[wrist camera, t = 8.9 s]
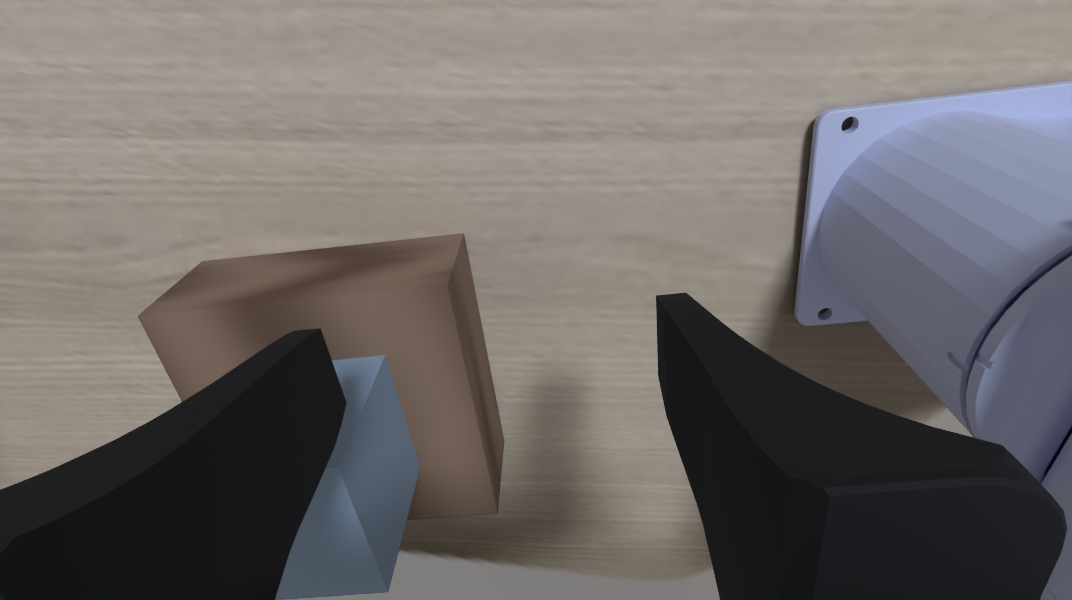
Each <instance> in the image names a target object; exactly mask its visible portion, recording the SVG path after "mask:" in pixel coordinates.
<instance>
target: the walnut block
mask: <svg viewBox="0 0 1072 600" xmlns="http://www.w3.org/2000/svg"><path fill="white" fill-rule="evenodd" d="M138 318H139V320H140V322H141V324H142V325H143V327H144V329H145V331H146V333H147V335H148V337H149V339H150V341H151V343H152V345H153V347H154V349H155V351H156V352H157V354H158V356H159V358H160V360H161V362H162V364H163V366H164V368H165V370H166V372H167V374H168V376H169V377H170V379H171V381H172V383H173V385H174V387H175V389H176V391H177V393H178V395H179V397H180V399H181V401H182V402H183V401H185V400H186V399H188V398H189V397H191V396H192V395H194V394H196V393H197V392H199V391H200V390H202V389H204V388H205V387H207V386H208V385H210V384H211V383H213V382H215V381H216V380H218V379H219V378H221V377H222V376H223V375H225V374H226V373H228V372H229V371H231V370H232V369H234V368H235V367H237V366H238V365H240V364H241V363H243V362H244V361H246V360H247V359H249V358H250V357H252V356H253V355H255V354H256V353H258V352H259V351H261V350H262V349H264V348H265V347H267V346H268V345H270V344H271V343H273V342H274V341H276V340H278V339H279V338H281V337H283V336H284V335H286V334H288V333H290V332H292V331H296V330H306V329H316V328H321V331H322V333H323V336H324V339H325V342H326V345H327V348H328V351H329V353H330V356H331V359H332V360H342V359H351V358H361V357H371V356H380V355H385V356H386V359H387V362H388V365H389V369H390V372H391V375H392V378H393V381H394V385H395V388H396V391H397V394H398V397H399V401H400V404H401V407H402V410H403V413H404V417H405V420H406V423H407V426H408V429H409V433H410V436H411V439H412V442H413V445H414V449H415V452H416V455H417V458H418V461H419V465H420V470H419V474H418V478H417V482H416V486H415V490H414V494H413V498H412V501H411V505H410V509H409V513H408V517H407V520H412V519H426V518H440V517H454V516H468V515H483V514H497V513H498V503H499V492H500V482H501V471H502V460H503V450H504V437H503V432H502V427H501V422H500V417H499V412H498V406H497V401H496V396H495V391H494V386H493V381H492V376H491V371H490V365H489V360H488V355H487V350H486V345H485V340H484V335H483V330H482V324H481V319H480V314H479V309H478V304H477V299H476V294H475V289H474V283H473V278H472V273H471V268H470V263H469V258H468V253H467V247H466V242H465V237H464V234H455V235H446V236H437V237H427V238H418V239H409V240H399V241H390V242H381V243H371V244H362V245H353V246H343V247H334V248H325V249H315V250H306V251H297V252H287V253H278V254H269V255H259V256H250V257H241V258H231V259H222V260H213V261H203V262H201V263H200V264H199V265H197V266H196V267H195V268H194V269H193V270H191V271H190V272H189V273H188V274H187V275H186V276H184V277H183V278H182V279H181V280H180V281H178V282H177V283H176V284H175V285H174V286H173V287H171V288H170V289H169V290H168V291H167V292H165V293H164V294H163V295H162V296H161V297H160V298H158V299H157V300H156V301H155V302H154V303H152V304H151V305H150V306H149V307H148V308H146V309H145V310H144V311H143V312H142V313H141V314H139V315H138Z"/></svg>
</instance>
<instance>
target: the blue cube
mask: <svg viewBox="0 0 1072 600" xmlns="http://www.w3.org/2000/svg"><path fill="white" fill-rule="evenodd" d="M332 362H333V365H334V368H335V371H336V374H337V376H338V379H339V382H340V385H341V388H342V391H343V394H344V396H345V399H346V402H347V404H346V408H345V412H344V416H343V420H342V424H341V428H340V431H339V435H338V438H337V442H336V445H335V447H334V450H333V452H332V454H331V457H330V459H329V461H328V464H327V466H326V468H325V471H324V473H323V475H322V478H321V480H320V482H319V485H318V487H317V489H316V491H315V494H314V496H313V498H312V500H311V503H310V505H309V507H308V510H307V512H306V514H305V516H304V519H303V521H302V523H301V525H300V528H299V530H298V532H297V535H296V538H295V540H294V543H293V545H292V548H291V550H290V553H289V556H288V560H287V563H286V566H285V569H284V572H283V576H282V579H281V582H280V585H279V588H278V591H277V595H276V598H275V600H284V599H298V598H313V597H327V596H340V595H355V594H369V593H383V592H388V591H389V587H390V583H391V579H392V575H393V571H394V567H395V564H396V560H397V556H398V552H399V548H400V544H401V540H402V536H403V533H404V529H405V525H406V521H407V517H408V513H409V509H410V505H411V501H412V498H413V494H414V490H415V486H416V482H417V478H418V474H419V470H420V465H419V461H418V458H417V455H416V452H415V449H414V445H413V442H412V439H411V436H410V433H409V429H408V426H407V423H406V420H405V417H404V413H403V410H402V407H401V404H400V401H399V397H398V394H397V391H396V388H395V385H394V381H393V378H392V375H391V372H390V369H389V365H388V362H387V359H386V356H385V355H380V356H371V357H361V358H351V359H342V360H332Z"/></svg>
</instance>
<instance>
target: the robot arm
mask: <svg viewBox="0 0 1072 600" xmlns="http://www.w3.org/2000/svg"><path fill="white" fill-rule="evenodd" d="M849 117H853V123H852V126H851V127H850V128H849V129H847V130H844V131H842V127H841V126H842V123H843V121H844V120H845V119H846V118H849ZM656 308H657V344H658V376H659V381H660V387H661V392H662V397H663V401H664V406H665V411H666V416H667V419H668V422H669V425H670V428H671V430H672V433H673V436H674V439H675V442H676V445H677V448H678V451H679V454H680V457H681V459H682V462H683V465H684V468H685V471H686V474H687V477H688V480H689V482H690V485H691V488H692V491H693V494H694V497H695V500H696V503H697V506H698V509H699V512H700V516H701V519H702V523H703V526H704V531H705V535H706V539H707V544H708V548H709V552H710V556H711V561H712V565H713V569H714V574H715V578H716V583H717V587H718V592H719V596H720V600H1072V80H1071V81H1063V82H1054V83H1046V84H1037V85H1029V86H1020V87H1012V88H1003V89H995V90H986V91H978V92H969V93H961V94H952V95H944V96H935V97H927V98H918V99H910V100H901V101H893V102H884V103H876V104H867V105H859V106H850V107H842V108H833V109H829V110H825V111H824V112H822V113H821V114H820V115H819V116H818V117H817V119H816V120H815V123H814V126H813V135H812V145H811V155H810V165H809V174H808V184H807V194H806V204H805V213H804V223H803V233H802V243H801V252H800V262H799V272H798V282H797V291H796V301H795V311H794V313H795V317H796V318H797V320H798V321H799V322H800V324H802V325H804V326H815V325H826V324H837V323H848V322H859V321H869V322H870V323H871V325H872V326H873V327H874V328H875V329H876V330H877V331H878V332H879V333H880V334H881V336H882V337H883V338H884V339H885V340H886V341H887V342H888V343H889V344H890V345H891V347H892V348H893V349H894V350H895V351H896V352H897V353H898V354H899V355H900V356H901V358H902V359H903V360H904V361H905V362H906V363H907V364H908V365H909V366H910V368H911V369H912V370H913V371H914V372H915V373H916V374H917V375H918V376H919V377H920V379H921V380H922V381H923V382H924V383H925V384H926V385H927V386H928V387H929V388H930V390H931V391H932V392H933V393H934V394H935V395H936V396H937V397H938V398H939V399H940V401H941V402H942V403H943V404H944V405H945V406H946V407H947V408H948V409H949V411H950V412H951V413H952V414H953V415H954V416H955V417H956V418H957V419H958V420H959V422H960V423H961V424H962V425H963V426H964V427H965V428H966V429H967V430H968V431H969V433H970V434H971V435H972V436H973V437H974V438H973V437H969V436H965V435H961V434H958V433H954V432H950V431H946V430H942V429H938V428H934V427H931V426H928V425H924V424H921V423H918V422H915V421H912V420H909V419H906V418H903V417H900V416H897V415H894V414H891V413H888V412H886V411H883V410H880V409H877V408H875V407H872V406H869V405H867V404H864V403H862V402H859V401H857V400H855V399H852V398H850V397H848V396H845V395H843V394H841V393H838V392H836V391H833V390H831V389H829V388H827V387H825V386H823V385H821V384H819V383H817V382H815V381H813V380H811V379H809V378H807V377H805V376H803V375H801V374H799V373H798V372H796V371H794V370H792V369H790V368H788V367H786V366H785V365H783V364H781V363H780V362H778V361H776V360H775V359H773V358H772V357H770V356H768V355H767V354H765V353H764V352H762V351H761V350H759V349H758V348H756V347H755V346H753V345H752V344H750V343H749V342H747V341H746V340H745V339H743V338H742V337H740V336H739V335H738V334H736V333H735V332H734V331H732V330H731V329H730V328H728V327H727V326H726V325H725V324H723V323H722V322H721V321H719V320H718V319H717V318H716V317H715V316H713V315H712V314H711V313H710V312H709V311H707V310H706V309H705V308H704V307H703V306H701V305H700V304H699V303H698V302H697V301H695V300H694V299H693V298H692V297H691V296H689V295H688V294H687V293H678V294H668V295H658V296H656ZM824 308H828V310H827V312H825V313H824V314H821V315H818V313H819V311H821V310H822V309H824ZM346 404H347V402H346V399H345V396H344V394H343V391H342V388H341V385H340V382H339V379H338V376H337V374H336V371H335V368H334V365H333V362H332V359H331V356H330V353H329V351H328V348H327V345H326V342H325V339H324V336H323V333H322V331H321V328H316V329H306V330H296V331H292V332H290V333H288V334H286V335H284V336H283V337H281V338H279V339H278V340H276V341H274V342H273V343H271V344H270V345H268V346H267V347H265V348H264V349H262V350H261V351H259V352H258V353H256V354H255V355H253V356H252V357H250V358H249V359H247V360H246V361H244V362H243V363H241V364H240V365H238V366H237V367H235V368H234V369H232V370H231V371H229V372H228V373H226V374H225V375H223V376H222V377H221V378H219V379H218V380H216V381H215V382H213V383H211V384H210V385H208V386H207V387H205V388H204V389H202V390H200V391H199V392H197V393H196V394H194V395H192V396H191V397H189V398H188V399H186V400H185V401H183V402H181V403H180V404H178V405H177V406H175V407H173V408H172V409H170V410H169V411H167V412H165V413H163V414H162V415H160V416H158V417H156V418H155V419H153V420H151V421H149V422H148V423H146V424H144V425H142V426H140V427H138V428H136V429H135V430H133V431H131V432H129V433H127V434H125V435H123V436H121V437H120V438H118V439H116V440H114V441H112V442H110V443H108V444H105V445H103V446H101V447H99V448H97V449H95V450H93V451H90V452H88V453H86V454H84V455H82V456H80V457H77V458H75V459H73V460H71V461H69V462H67V463H64V464H62V465H60V466H58V467H56V468H53V469H51V470H49V471H46V472H44V473H41V474H39V475H37V476H34V477H32V478H29V479H27V480H24V481H22V482H19V483H17V484H14V485H12V486H9V487H6V488H4V489H1V490H0V600H275V598H276V595H277V591H278V588H279V585H280V582H281V579H282V576H283V572H284V569H285V566H286V563H287V560H288V556H289V553H290V550H291V548H292V545H293V543H294V540H295V538H296V535H297V532H298V530H299V528H300V525H301V523H302V521H303V519H304V516H305V514H306V512H307V510H308V507H309V505H310V503H311V500H312V498H313V496H314V494H315V491H316V489H317V487H318V485H319V482H320V480H321V478H322V475H323V473H324V471H325V468H326V466H327V464H328V461H329V459H330V457H331V454H332V452H333V450H334V447H335V445H336V442H337V438H338V435H339V431H340V428H341V424H342V420H343V416H344V412H345V408H346Z"/></svg>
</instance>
